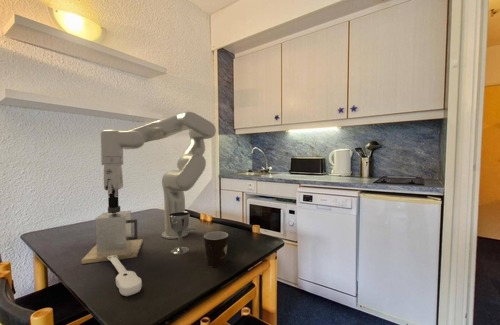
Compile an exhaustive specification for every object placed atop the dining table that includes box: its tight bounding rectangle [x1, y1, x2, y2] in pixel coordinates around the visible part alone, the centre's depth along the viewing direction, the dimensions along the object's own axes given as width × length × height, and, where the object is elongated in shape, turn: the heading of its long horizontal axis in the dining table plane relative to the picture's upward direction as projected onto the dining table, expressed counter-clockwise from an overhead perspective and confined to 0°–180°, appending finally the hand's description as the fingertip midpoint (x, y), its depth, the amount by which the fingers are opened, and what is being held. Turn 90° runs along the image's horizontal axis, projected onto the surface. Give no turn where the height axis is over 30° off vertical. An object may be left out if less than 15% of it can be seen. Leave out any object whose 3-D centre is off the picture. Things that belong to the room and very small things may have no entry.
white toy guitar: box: [107, 255, 143, 297], centre depth 74 cm, size 28×6×3 cm, turn 42°
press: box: [81, 210, 144, 265], centre depth 94 cm, size 18×16×15 cm
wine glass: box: [169, 211, 191, 255], centre depth 95 cm, size 8×8×15 cm
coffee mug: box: [203, 230, 229, 268], centre depth 82 cm, size 12×9×10 cm
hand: (113, 206), depth 94 cm, fingers closed
